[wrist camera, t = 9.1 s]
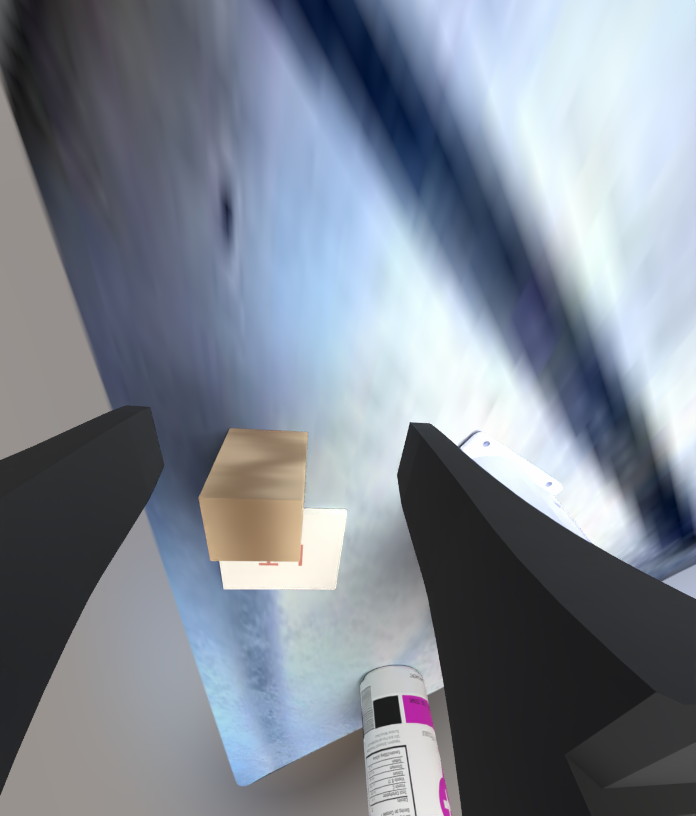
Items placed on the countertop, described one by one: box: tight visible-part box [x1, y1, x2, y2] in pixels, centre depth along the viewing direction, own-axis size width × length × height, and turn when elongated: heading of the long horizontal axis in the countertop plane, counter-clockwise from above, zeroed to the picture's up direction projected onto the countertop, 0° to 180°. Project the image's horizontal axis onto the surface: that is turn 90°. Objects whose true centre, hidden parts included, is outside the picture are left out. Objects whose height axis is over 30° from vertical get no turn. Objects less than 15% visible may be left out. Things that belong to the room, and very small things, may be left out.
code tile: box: [219, 508, 347, 590], centre depth 27 cm, size 10×10×1 cm
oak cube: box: [199, 428, 308, 562], centre depth 20 cm, size 5×5×6 cm
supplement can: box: [360, 665, 452, 816], centre depth 35 cm, size 8×8×15 cm
